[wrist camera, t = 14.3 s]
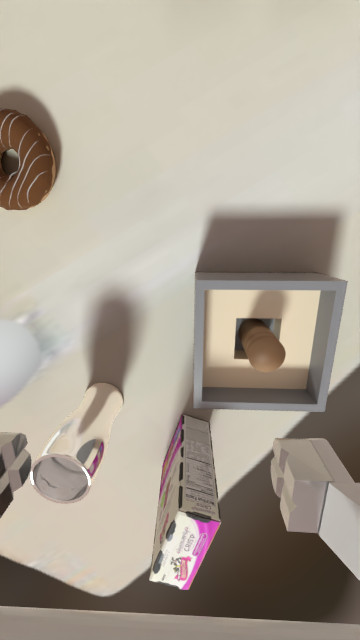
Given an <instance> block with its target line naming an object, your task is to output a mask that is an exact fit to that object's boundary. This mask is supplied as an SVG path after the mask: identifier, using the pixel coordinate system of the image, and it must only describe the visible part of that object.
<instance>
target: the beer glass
mask: <svg viewBox="0 0 360 640" xmlns="http://www.w3.org/2000/svg"><path fill="white" fill-rule="evenodd" d="M122 406H123V397H122V395H121V393H120V391H119V390H118V389H117V388H116V387H114V386H113V385H111V384H108V383H96V384H94V385H92V386H91V387H89V388H88V390H87V391H86V393H85V395H84V398H83V401H82V403H81V404H80V406H79V407H78V408H77V409H76V410H75V411H74V412H72V413H71V414H70V415H69V416H68V417H67V418H66V419H65V420H64V421H63V422H62V423H61V424H60V425H59V426H58V427H57V428H56V430H55V431H54V432H53V433H52V435H51V436H50V438H49V439H48V441H47V442H46V444H45V445H44V447H43V448H42V450H41V452H40V454H39V455H38V457H37V459H36V460H35V462H34V463H33V465H32V466H31V469H30V481H31V484H32V486H33V487H34V489H35V490H36V491H37V492H38V493H39V494H40V495H41V496H43V497H44V498H46V499H48V500H50V501H53V502H56V503H62V504H68V503H74V502H77V501H79V500H81V499H83V498H84V497H85V496H86V495H87V494H88V492H89V490H90V487H91V485H92V483H93V482H94V480H95V478H96V476H97V474H98V472H99V470H100V468H101V465H102V463H103V461H104V458H105V455H106V452H107V449H108V445H109V440H110V435H111V429H112V423H113V420H114V418H115V417H116V415H117V414H118V413H119V412H120V410H121V408H122Z"/></svg>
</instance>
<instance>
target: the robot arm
mask: <svg viewBox="0 0 360 640" xmlns="http://www.w3.org/2000/svg"><path fill="white" fill-rule="evenodd" d="M27 443H28V442H27V439H26V435H24V434H22V433H8V432H0V518H1V517H2V515H3V514H4V512H5V511H6V509H7V508H8V506H9V505H10V503H11V502H12V500H13V492H14V491H16V490H17V489H19V488H20V487H22V486H23V484H24V483H25V481H26V479H27V478H28V475H29V472H30V469H31V456H30V454H29V453H28V452H27V451H26V450H25V449H24V448H25V447H26V445H27ZM273 451H274V454H275V457H274V458H273V459H272V462H271V476H272V483H273V487H274V491H275V494H276V495H277V496H278V497H279V498H281V503H280V510H281V513H282V516H283V519H284V522H285V525H286V528H287V531H296V532H311V533H319V536H320V537H321V538H322V539H323V540H324V541H325V542H326V544H328V546H329V547H330V548H331V549H332V550H333V551H334V552H335V554H336V555H337V556H338V557H339V558H340V559H341V560H342V561H343V562H344V564H345V565H346V566H347V567H348V568H349V569H350V570H351V571H352V572H353V574H354V575H355V576H356V577H357V578H358V579H359V580H360V483H355V482H354V481H353V479H352V478H351V476H350V475H349V473H348V472H347V470H346V469H345V467H344V466H343V464H342V463H341V461H340V460H339V458H338V457H337V455H336V454H335V452H334V451H333V449H332V447H331V446H330V444H329V443H328V441H326V440H325V439H280V438H275V440H274V442H273ZM0 640H360V625H355V624H354V625H353V624H336V623H316V622H298V621H278V620H259V619H239V618H220V617H202V616H182V615H163V614H143V613H125V612H105V611H85V610H64V609H46V608H25V607H6V606H0Z"/></svg>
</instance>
